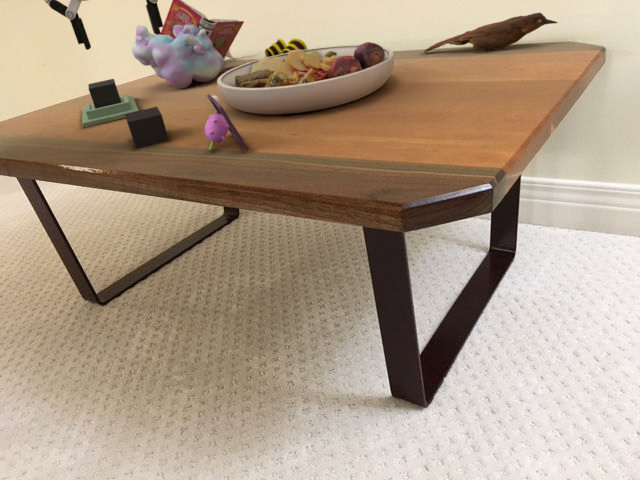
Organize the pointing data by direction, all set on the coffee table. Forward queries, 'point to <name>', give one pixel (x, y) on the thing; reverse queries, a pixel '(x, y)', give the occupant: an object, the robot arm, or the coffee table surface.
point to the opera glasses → (285, 47)
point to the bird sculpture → (498, 33)
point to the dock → (108, 111)
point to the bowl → (307, 79)
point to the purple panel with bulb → (220, 125)
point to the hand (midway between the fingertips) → (123, 41)
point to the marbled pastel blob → (186, 45)
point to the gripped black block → (147, 127)
